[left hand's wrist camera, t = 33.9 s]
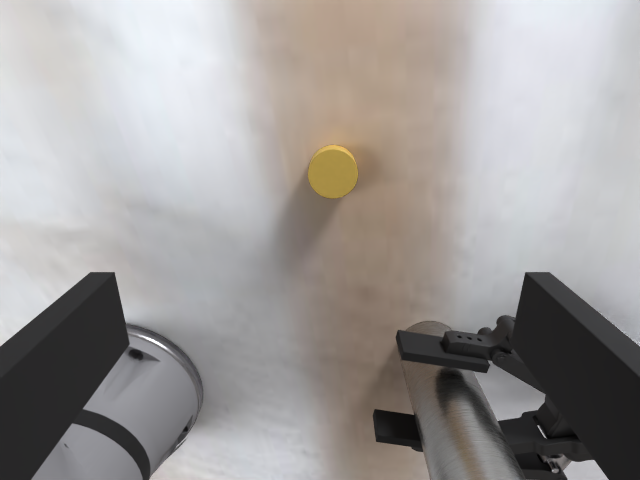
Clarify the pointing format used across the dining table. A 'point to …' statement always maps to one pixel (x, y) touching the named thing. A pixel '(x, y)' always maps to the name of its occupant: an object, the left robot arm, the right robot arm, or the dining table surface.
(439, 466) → the bottle
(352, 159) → the cap
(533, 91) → the dining table surface
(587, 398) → the left robot arm
